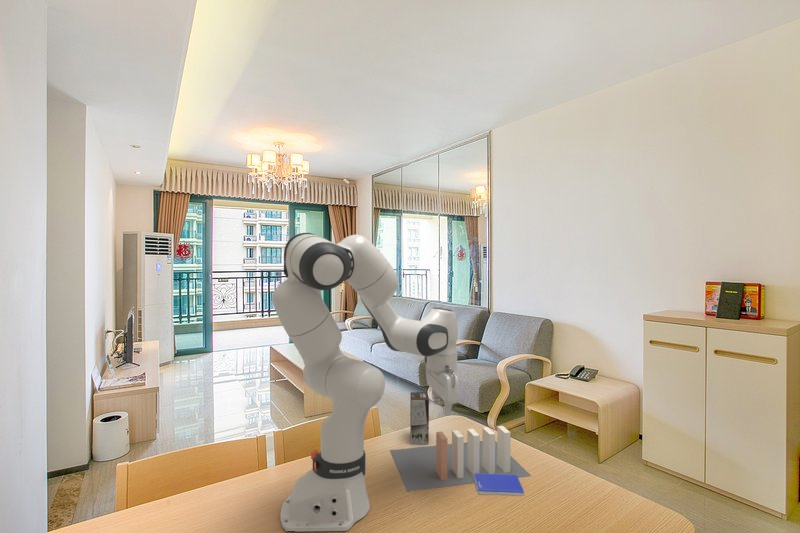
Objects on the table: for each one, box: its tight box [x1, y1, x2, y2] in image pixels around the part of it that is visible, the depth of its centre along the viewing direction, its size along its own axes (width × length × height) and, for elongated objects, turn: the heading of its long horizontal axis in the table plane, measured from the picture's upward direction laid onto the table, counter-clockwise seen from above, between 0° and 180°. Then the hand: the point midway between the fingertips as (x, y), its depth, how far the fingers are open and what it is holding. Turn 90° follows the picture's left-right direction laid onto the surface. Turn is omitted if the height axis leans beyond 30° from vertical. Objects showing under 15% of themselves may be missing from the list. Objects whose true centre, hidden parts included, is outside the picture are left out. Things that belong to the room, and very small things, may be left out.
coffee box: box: [409, 391, 430, 446], centre depth 144 cm, size 9×6×16 cm
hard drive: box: [474, 473, 525, 496], centre depth 114 cm, size 2×8×12 cm
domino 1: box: [451, 429, 465, 478], centre depth 121 cm, size 2×5×12 cm, turn 12°
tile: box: [435, 431, 448, 480], centre depth 120 cm, size 2×5×12 cm, turn 13°
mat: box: [389, 440, 532, 492], centre depth 128 cm, size 38×25×1 cm, turn 103°
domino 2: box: [466, 428, 481, 476], centre depth 122 cm, size 2×5×12 cm, turn 12°
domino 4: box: [496, 425, 511, 472], centre depth 124 cm, size 2×5×12 cm, turn 13°
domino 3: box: [481, 426, 496, 474], centre depth 123 cm, size 2×5×12 cm, turn 13°
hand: (441, 409), depth 119 cm, fingers open, 8 cm apart
